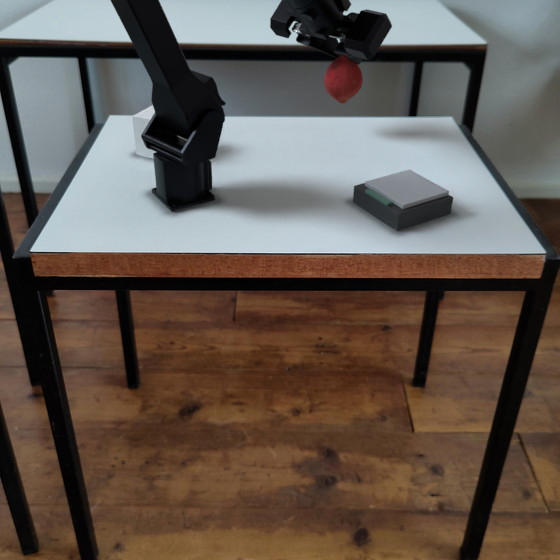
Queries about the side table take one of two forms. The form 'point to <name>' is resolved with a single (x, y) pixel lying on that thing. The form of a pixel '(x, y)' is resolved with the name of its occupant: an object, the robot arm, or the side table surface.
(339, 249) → the side table surface
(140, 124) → the white cube
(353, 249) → the side table surface
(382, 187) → the scale
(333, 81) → the onion
